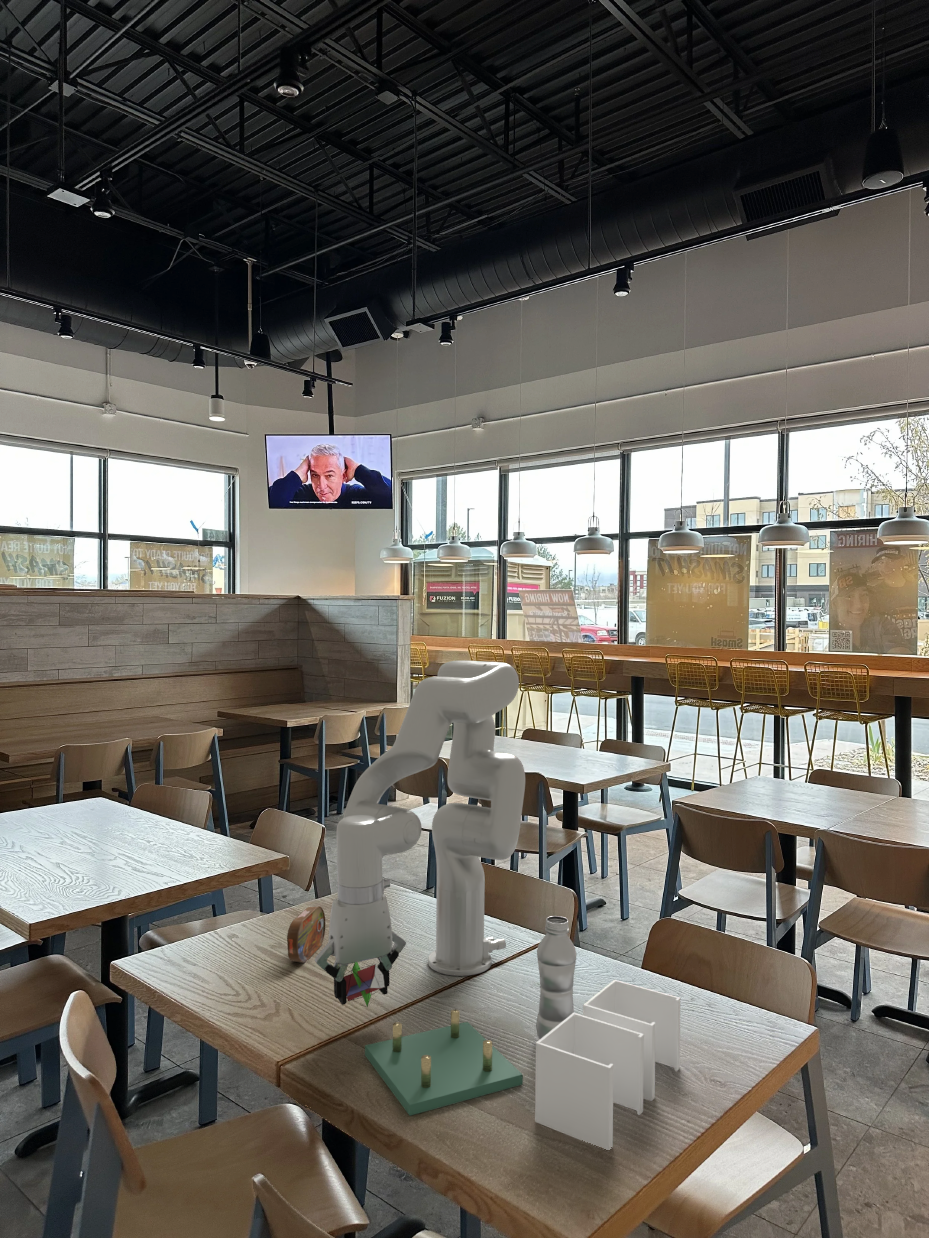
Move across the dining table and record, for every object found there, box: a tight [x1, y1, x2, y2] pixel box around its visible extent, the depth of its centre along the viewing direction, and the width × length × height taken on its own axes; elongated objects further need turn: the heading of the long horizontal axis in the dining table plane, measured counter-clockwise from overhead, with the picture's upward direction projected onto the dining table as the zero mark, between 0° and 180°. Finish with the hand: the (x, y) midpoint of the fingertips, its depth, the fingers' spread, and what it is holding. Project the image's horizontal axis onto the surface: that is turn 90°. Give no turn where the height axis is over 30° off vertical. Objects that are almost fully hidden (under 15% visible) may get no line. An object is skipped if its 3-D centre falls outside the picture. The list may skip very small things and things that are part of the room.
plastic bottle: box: [535, 915, 577, 1041], centre depth 137 cm, size 6×7×20 cm
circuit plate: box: [364, 1021, 524, 1116], centre depth 129 cm, size 18×18×2 cm
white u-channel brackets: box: [534, 979, 681, 1151], centre depth 122 cm, size 25×11×11 cm, turn 145°
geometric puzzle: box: [344, 960, 385, 1008], centre depth 142 cm, size 7×7×8 cm
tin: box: [286, 905, 326, 964], centre depth 172 cm, size 15×3×8 cm, turn 168°
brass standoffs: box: [392, 1009, 493, 1088], centre depth 129 cm, size 11×12×4 cm
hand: (362, 995), depth 142 cm, fingers closed on geometric puzzle, 6 cm apart
